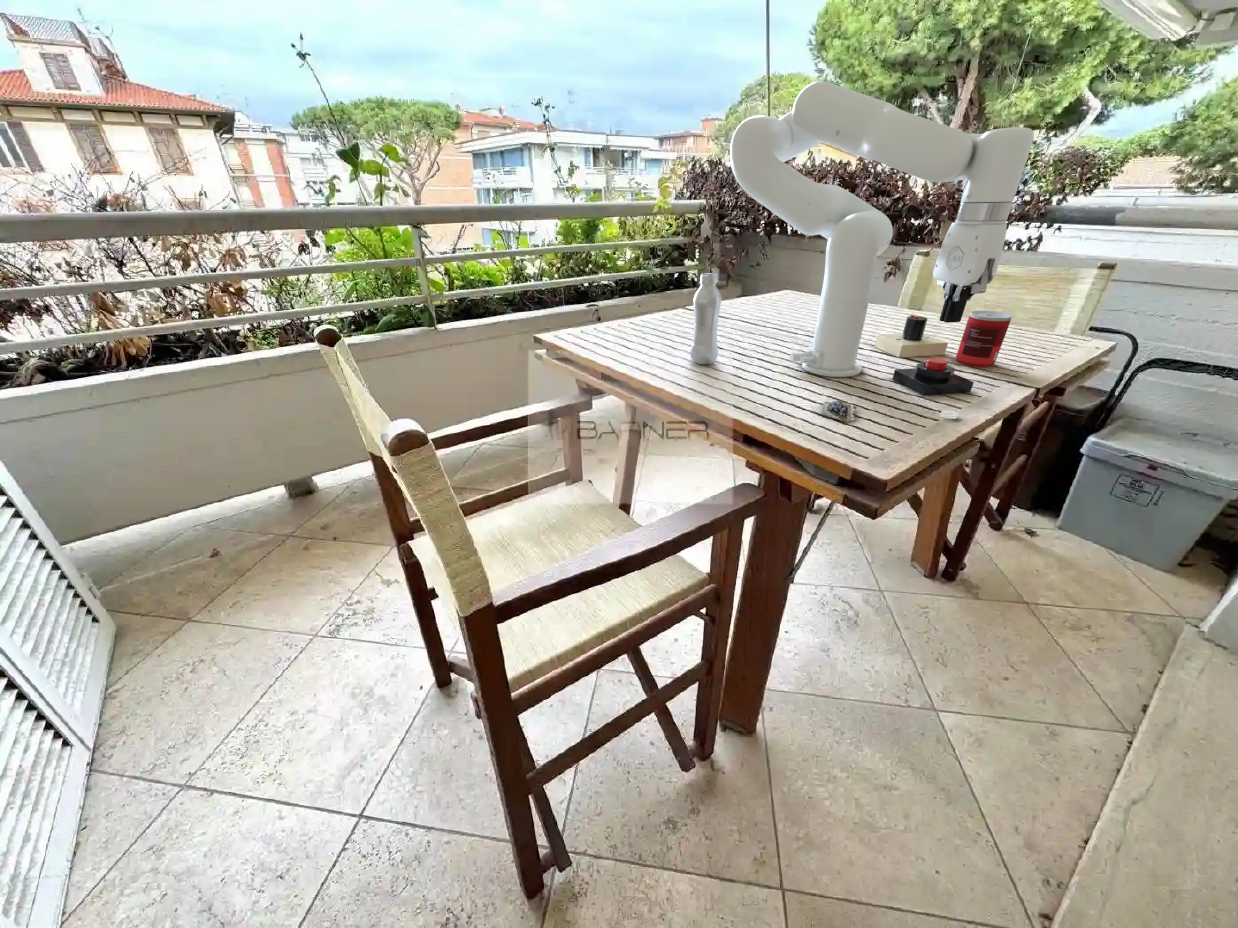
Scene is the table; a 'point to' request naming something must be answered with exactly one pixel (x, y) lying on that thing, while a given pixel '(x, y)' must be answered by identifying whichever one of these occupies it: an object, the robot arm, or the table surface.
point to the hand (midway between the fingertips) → (949, 321)
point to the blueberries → (839, 410)
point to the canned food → (982, 338)
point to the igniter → (932, 380)
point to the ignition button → (936, 364)
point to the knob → (914, 328)
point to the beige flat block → (910, 345)
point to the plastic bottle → (706, 320)
